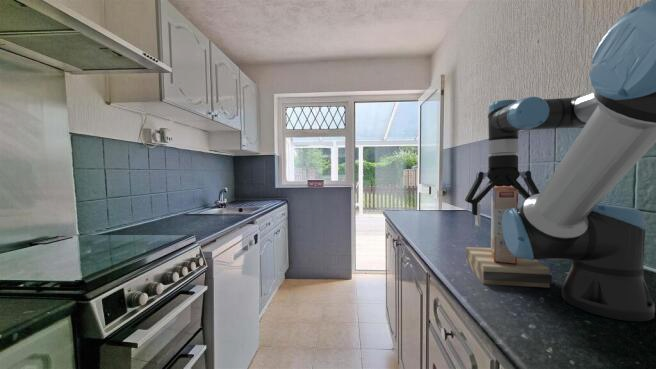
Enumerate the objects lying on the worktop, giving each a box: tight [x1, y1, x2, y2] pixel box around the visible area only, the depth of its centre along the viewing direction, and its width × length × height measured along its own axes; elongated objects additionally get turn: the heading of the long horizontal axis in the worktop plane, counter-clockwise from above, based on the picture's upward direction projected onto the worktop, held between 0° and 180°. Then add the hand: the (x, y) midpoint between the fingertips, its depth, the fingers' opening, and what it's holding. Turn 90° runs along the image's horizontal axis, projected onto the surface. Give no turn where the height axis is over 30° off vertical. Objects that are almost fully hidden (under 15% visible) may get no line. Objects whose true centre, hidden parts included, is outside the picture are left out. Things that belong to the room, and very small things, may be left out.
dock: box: [465, 246, 553, 289], centre depth 86 cm, size 20×16×5 cm
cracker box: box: [490, 186, 519, 264], centre depth 86 cm, size 14×6×21 cm, turn 153°
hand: (502, 226), depth 86 cm, fingers open, 13 cm apart
